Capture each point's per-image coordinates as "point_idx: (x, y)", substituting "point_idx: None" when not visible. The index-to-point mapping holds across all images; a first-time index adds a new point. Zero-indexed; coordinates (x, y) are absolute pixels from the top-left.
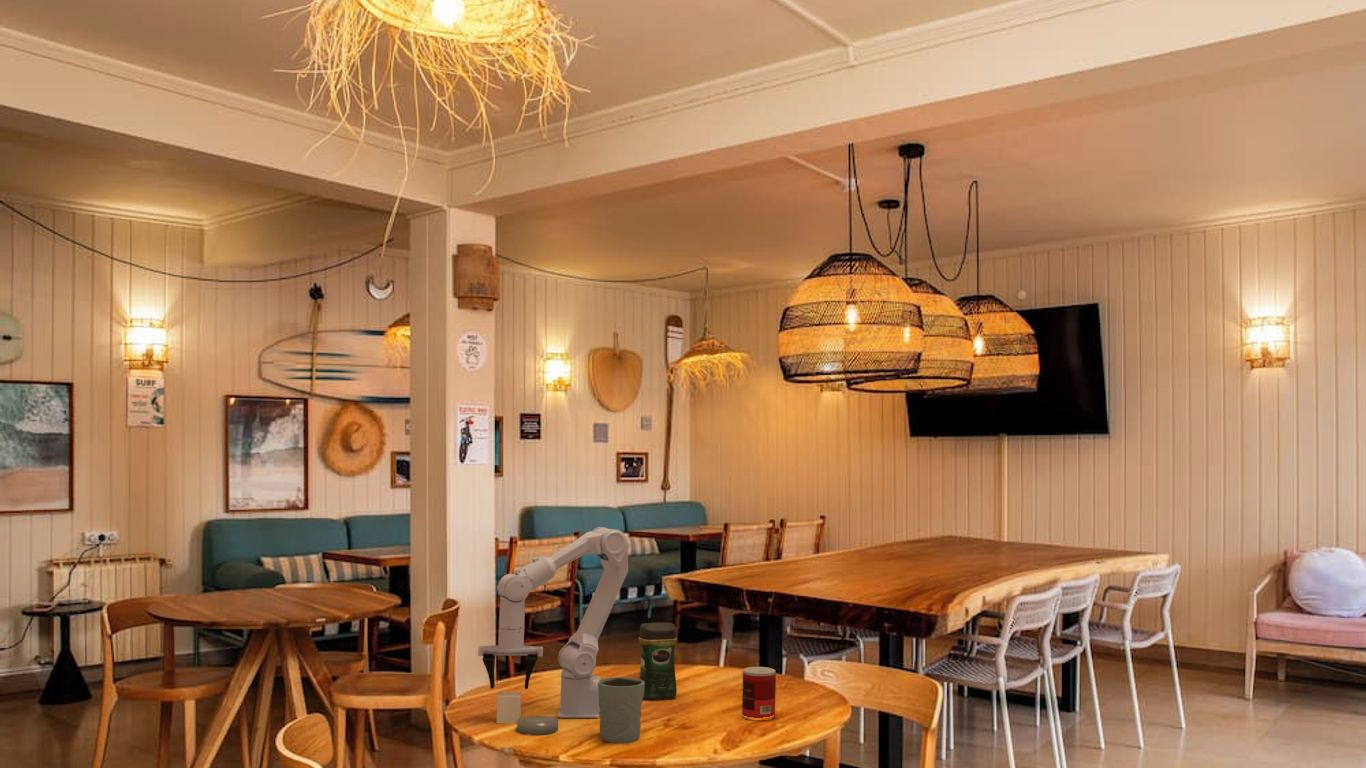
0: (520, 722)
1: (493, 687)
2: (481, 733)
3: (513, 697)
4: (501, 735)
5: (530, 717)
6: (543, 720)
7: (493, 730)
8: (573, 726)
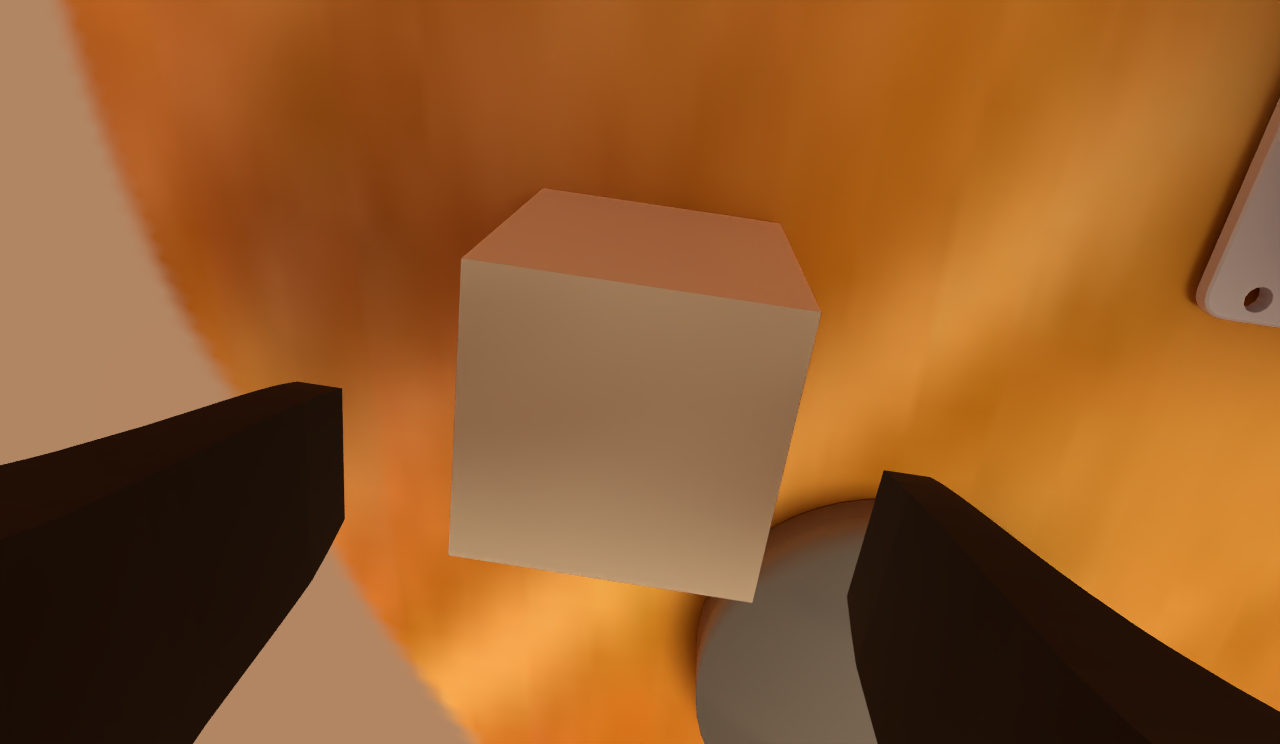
0: (721, 735)
1: (335, 532)
2: (417, 662)
3: (667, 582)
4: (570, 729)
5: (839, 605)
6: None
7: (505, 603)
8: (1223, 596)
